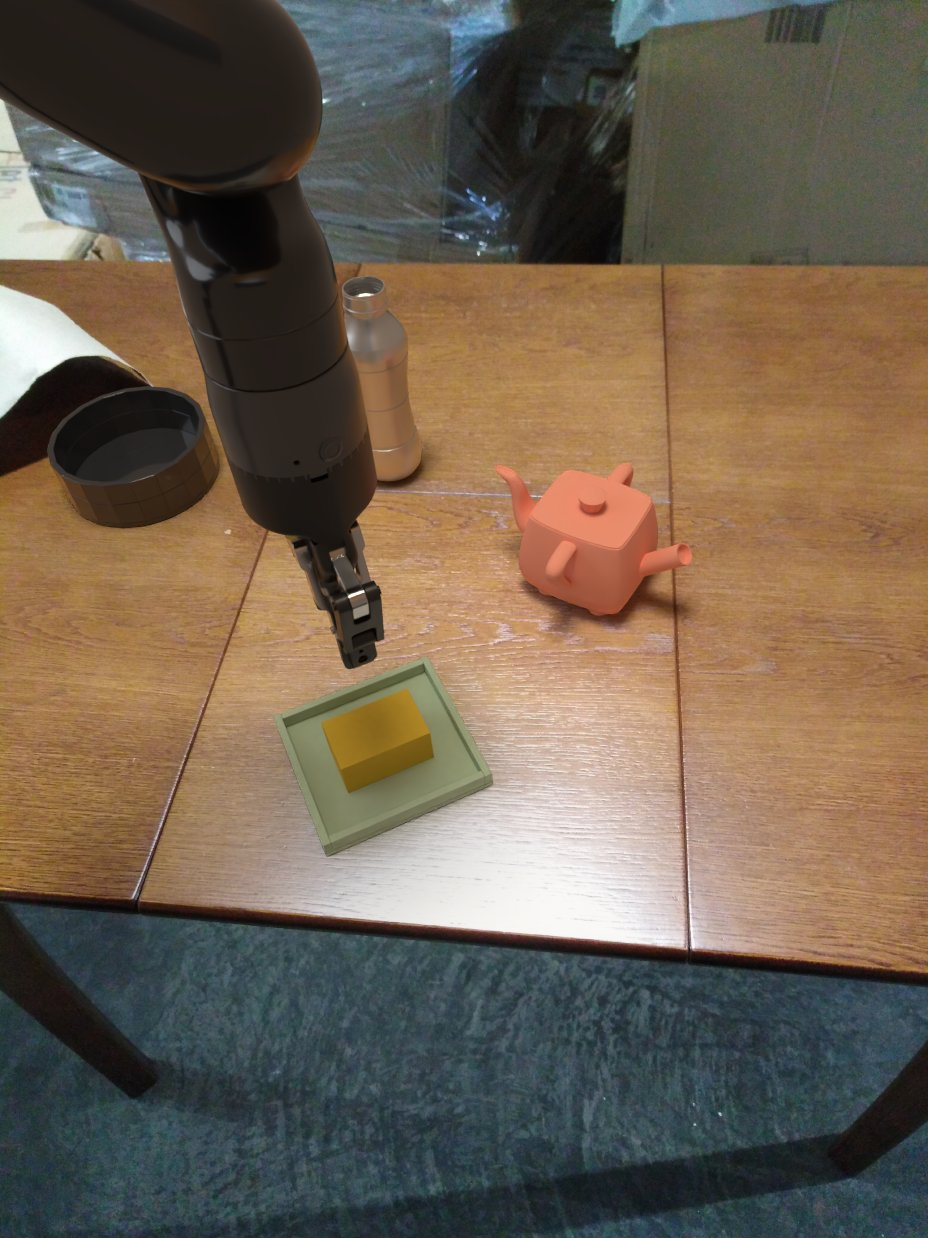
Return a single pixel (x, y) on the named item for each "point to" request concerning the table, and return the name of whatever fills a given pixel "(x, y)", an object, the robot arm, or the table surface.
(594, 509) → the teapot
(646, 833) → the table surface
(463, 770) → the tray
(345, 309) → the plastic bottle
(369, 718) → the sponge
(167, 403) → the bowl
